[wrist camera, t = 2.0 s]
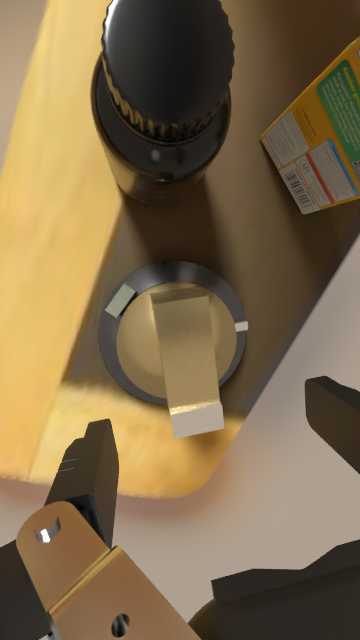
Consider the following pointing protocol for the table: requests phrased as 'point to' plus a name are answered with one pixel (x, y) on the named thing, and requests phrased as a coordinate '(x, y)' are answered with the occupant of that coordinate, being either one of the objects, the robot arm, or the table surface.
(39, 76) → the table surface
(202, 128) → the supplement bottle
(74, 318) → the table surface
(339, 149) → the crayon box
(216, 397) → the knob
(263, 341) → the table surface
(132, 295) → the base
